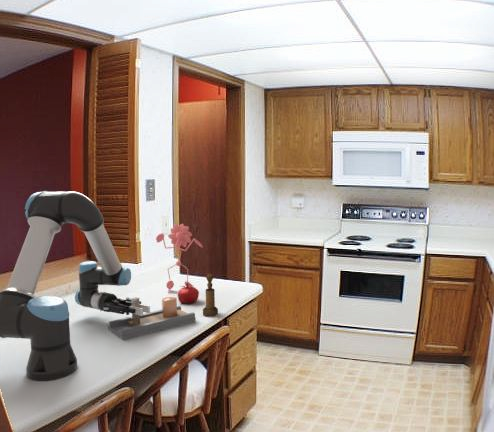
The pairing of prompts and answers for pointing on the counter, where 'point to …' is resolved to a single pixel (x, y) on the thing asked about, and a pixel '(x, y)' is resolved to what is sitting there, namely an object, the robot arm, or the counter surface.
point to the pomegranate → (188, 294)
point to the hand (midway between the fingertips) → (145, 310)
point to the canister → (169, 307)
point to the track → (148, 325)
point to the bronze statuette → (210, 299)
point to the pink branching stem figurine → (178, 245)
